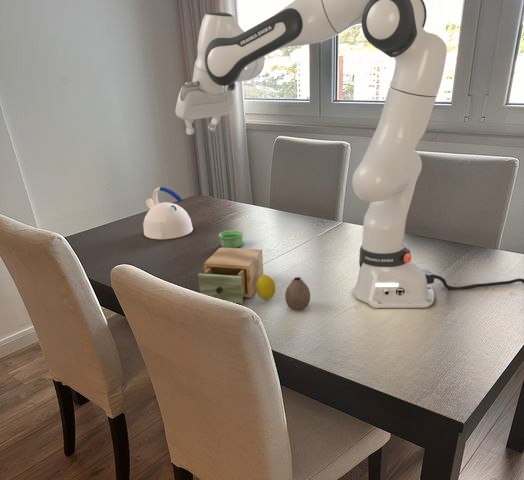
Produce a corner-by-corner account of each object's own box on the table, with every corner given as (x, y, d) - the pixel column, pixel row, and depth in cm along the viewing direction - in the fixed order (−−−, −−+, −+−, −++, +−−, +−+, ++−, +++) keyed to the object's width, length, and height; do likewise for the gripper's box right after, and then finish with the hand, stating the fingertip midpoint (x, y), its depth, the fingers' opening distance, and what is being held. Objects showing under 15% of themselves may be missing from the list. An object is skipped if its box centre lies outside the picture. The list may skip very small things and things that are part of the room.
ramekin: (245, 241, 188) (244, 229, 185) (241, 249, 180) (241, 237, 178) (222, 241, 189) (221, 230, 186) (217, 249, 181) (216, 238, 179)
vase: (303, 315, 132) (302, 285, 128) (281, 310, 136) (280, 281, 131) (314, 305, 137) (314, 276, 133) (293, 300, 141) (292, 272, 136)
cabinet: (250, 297, 144) (248, 266, 139) (207, 294, 147) (203, 263, 142) (263, 279, 155) (262, 249, 150) (222, 276, 159) (220, 247, 154)
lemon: (274, 305, 139) (273, 278, 135) (255, 304, 140) (253, 278, 136) (277, 296, 143) (276, 271, 139) (259, 296, 144) (257, 270, 140)
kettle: (168, 222, 215) (161, 179, 205) (203, 228, 204) (198, 184, 194) (133, 235, 201) (124, 190, 192) (168, 242, 190) (161, 195, 181)
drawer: (240, 305, 137) (238, 279, 133) (199, 301, 141) (196, 276, 137) (254, 285, 149) (253, 261, 145) (216, 282, 152) (213, 258, 148)
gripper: (191, 87, 125) (183, 141, 134) (240, 83, 139) (230, 132, 148) (173, 77, 127) (167, 131, 136) (224, 75, 141) (215, 124, 150)
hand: (200, 132), depth 142 cm, fingers open, 8 cm apart
